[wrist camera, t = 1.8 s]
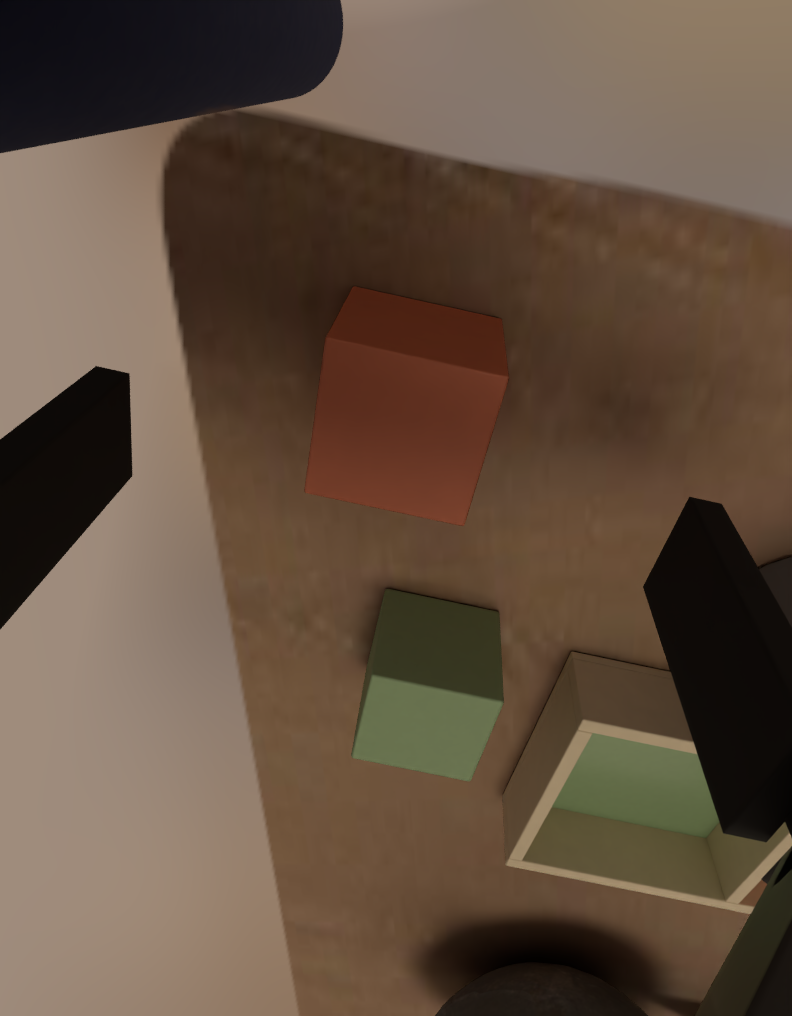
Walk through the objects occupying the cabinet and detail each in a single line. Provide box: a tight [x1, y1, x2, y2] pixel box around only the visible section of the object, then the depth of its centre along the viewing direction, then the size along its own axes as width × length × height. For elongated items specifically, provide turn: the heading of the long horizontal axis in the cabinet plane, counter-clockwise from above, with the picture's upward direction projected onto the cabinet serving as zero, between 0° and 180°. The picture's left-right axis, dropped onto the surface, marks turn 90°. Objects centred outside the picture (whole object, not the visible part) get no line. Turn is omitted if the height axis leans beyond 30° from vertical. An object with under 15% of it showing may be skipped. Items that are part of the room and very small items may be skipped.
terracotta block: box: [304, 286, 509, 526], centre depth 19 cm, size 4×4×4 cm
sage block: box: [351, 589, 504, 781], centre depth 25 cm, size 4×4×4 cm
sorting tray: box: [502, 652, 792, 914], centre depth 28 cm, size 10×20×3 cm, turn 79°
